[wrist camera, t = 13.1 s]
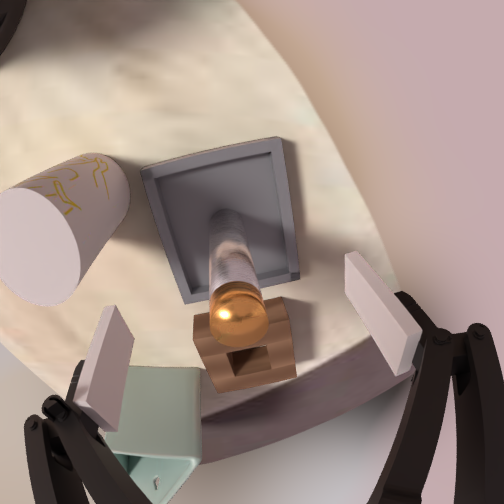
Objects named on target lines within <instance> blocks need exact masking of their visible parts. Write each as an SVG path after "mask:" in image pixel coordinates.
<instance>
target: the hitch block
mask: <svg viewBox="0 0 504 504" xmlns="http://www.w3.org/2000/svg"><path fill="white" fill-rule="evenodd" d="M263 302H264V306H265V309H266V313H267V317H268V321H269V327H268V330H267V332H266V334H265V335H264V336H263V337H262V338H261V339H260V340H259V341H258V342H256V343H254V344H252V345H249V346H245V347H230V346H226V345H223V344H221V343H219V342H218V341H217V340H216V339H215V338H214V337H213V336H212V334H211V331H210V312H209V313H204V314H198V315H194V324H193V341H194V344H195V346H196V348H197V350H198V353H199V355H200V357H201V359H202V361H203V363H204V366H205V368H206V370H207V372H208V374H209V376H210V378H211V380H212V382H213V384H214V386H215V388H216V390H217V392H218V393H223V392H229V391H235V390H240V389H246V388H251V387H256V386H261V385H265V384H270V383H274V382H279V381H283V380H287V379H291V378H295V377H297V374H296V366H295V358H294V350H293V343H292V335H291V328H290V320H289V317H288V314H287V311H286V309H285V306H284V303H283V300H282V297H278V298H273V299H269V300H265V301H263ZM262 345H266V346H263V347H258V348H253V347H257V346H262ZM248 348H253V349H249V350H244V351H239V352H234V353H232V352H233V351H238V350H243V349H248Z"/></svg>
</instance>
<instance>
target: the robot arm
mask: <svg viewBox="0 0 504 504" xmlns="http://www.w3.org/2000/svg"><path fill="white" fill-rule="evenodd" d="M25 4H26V0H0V55H1V53H2V52H3V50H4V49H5V47H6V46H7V44H8V42H9V41H10V39H11V37H12V35H13V33H14V31H15V29H16V27H17V25H18V23H19V21H20V18H21V16H22V13H23V10H24V7H25ZM345 294H346V296H347V297H348V299H349V300H350V302H351V304H352V305H353V307H354V308H355V310H356V312H357V313H358V315H359V316H360V318H361V319H362V321H363V323H364V324H365V326H366V328H367V329H368V331H369V332H370V334H371V336H372V337H373V339H374V341H375V342H376V344H377V346H378V347H379V349H380V351H381V352H382V354H383V356H384V357H385V359H386V361H387V362H388V364H389V366H390V368H391V369H392V371H393V373H394V374H395V376H398V375H400V374H402V373H405V372H407V371H409V370H410V367H411V364H412V363H413V365H414V366H415V368H416V370H415V372H414V375H413V377H412V380H411V381H412V385H411V389H410V393H409V396H408V400H407V403H406V406H405V410H404V414H403V416H402V420H401V423H400V426H399V429H398V432H397V434H396V438H395V440H394V443H393V446H392V449H391V451H390V454H389V456H388V459H387V461H386V463H385V466H384V468H383V471H382V473H381V476H380V478H379V480H378V482H377V484H376V487H375V489H374V491H373V493H372V495H371V497H370V499H369V501H368V503H367V504H421V501H422V499H421V493H422V490H423V487H424V484H425V482H426V479H427V476H428V473H429V470H430V467H431V464H432V460H433V457H434V453H435V450H436V446H437V442H438V439H439V435H440V430H441V426H442V422H443V417H444V413H445V407H446V402H447V396H448V390H449V384H450V377H451V376H452V381H453V389H454V400H455V413H456V433H457V435H456V436H457V463H456V483H455V496H454V504H504V380H503V376H502V371H501V367H500V363H499V360H498V356H497V352H496V348H495V345H494V341H493V338H492V335H491V332H490V330H489V329H488V328H487V327H486V326H485V325H483V324H481V323H474V324H472V325H470V326H469V328H468V330H467V332H464V333H457V334H451V333H450V332H449V331H448V330H446V329H442V328H437V327H436V326H435V324H434V323H433V322H432V321H431V319H430V318H429V317H428V316H427V314H426V313H425V312H424V311H423V310H422V309H421V307H420V306H419V305H418V304H416V301H415V300H414V299H413V298H412V297H411V296H410V295H408V294H407V293H405V292H403V291H400V292H397V293H393V292H392V291H391V290H390V289H389V287H388V286H387V285H386V284H385V283H384V281H383V280H382V279H381V278H380V277H379V275H378V274H377V273H376V272H375V271H374V270H373V268H372V267H371V266H370V265H369V264H368V263H367V262H366V260H365V259H364V258H363V257H362V256H361V255H360V254H359V253H358V251H354V252H350V253H346V254H345ZM134 339H135V338H134V337H133V335H132V333H131V332H130V330H129V328H128V326H127V325H126V323H125V321H124V319H123V318H122V316H121V314H120V312H119V310H118V308H117V307H116V305H112V306H107V307H104V310H103V312H102V315H101V317H100V320H99V323H98V325H97V328H96V331H95V333H94V336H93V339H92V342H91V345H90V347H89V350H88V353H87V356H86V359H85V360H81V361H80V362H79V364H78V365H77V366H76V368H75V371H74V374H73V377H72V380H71V383H70V386H69V390H68V393H67V396H66V400H65V401H64V400H63V399H62V398H61V397H60V396H58V395H51V396H49V397H48V398H47V399H46V400H45V401H44V403H43V405H42V413H43V414H44V415H45V416H46V417H48V418H46V419H42V418H40V417H39V416H38V415H31V416H30V417H28V418H27V420H26V422H25V424H24V435H25V446H26V454H27V462H28V468H29V475H30V480H31V485H32V490H33V495H34V499H35V504H89V501H88V498H87V496H86V492H85V490H84V486H83V484H84V485H85V487H86V489H87V490H88V492H89V494H90V495H91V497H92V498H93V500H94V502H95V503H96V504H153V503H152V502H151V501H150V500H149V499H148V498H147V496H146V495H145V494H144V493H143V492H142V491H141V489H140V488H139V487H138V486H137V484H136V483H135V482H134V481H133V479H132V478H131V477H130V476H129V474H128V473H127V472H126V470H125V469H124V468H123V466H122V465H121V464H120V462H119V461H118V459H117V458H116V457H115V455H114V454H113V452H112V451H111V449H110V448H109V447H108V445H107V444H106V442H105V440H104V439H103V437H102V436H101V435H100V434H99V433H98V427H100V428H102V429H103V430H104V431H105V432H118V427H119V420H120V413H121V407H122V400H123V395H124V389H125V383H126V378H127V373H128V367H129V362H130V358H131V353H132V348H133V343H134ZM82 482H83V483H82Z"/></svg>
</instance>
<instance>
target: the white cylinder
mask: <svg viewBox="0 0 504 504" xmlns="http://www.w3.org/2000/svg"><path fill="white" fill-rule="evenodd" d="M129 204H130V188H129V183H128V180H127V178H126V176H125V174H124V172H123V170H122V169H121V168H120V166H119V165H118V164H117V163H116V162H115V161H113V160H112V159H110V158H109V157H107V156H105V155H102V154H98V153H86V154H82V155H79V156H77V157H74V158H72V159H70V160H67V161H65V162H62V163H60V164H58V165H56V166H53V167H51V168H49V169H47V170H45V171H43V172H40V173H38V174H36V175H34V176H32V177H30V178H28V179H26V180H24V181H22V182H20V183H18V184H16V185H15V186H13V187H11V188H9V189H7V190H5V191H4V192H2V193H0V279H1V280H2V281H3V283H4V284H5V285H6V286H7V287H8V288H9V289H10V290H11V291H12V292H13V293H15V294H16V295H17V296H19V297H20V298H22V299H23V300H25V301H27V302H30V303H32V304H35V305H39V306H55V305H58V304H61V303H63V302H64V301H66V300H67V299H68V298H70V297H71V295H72V294H73V293H74V291H75V290H76V288H77V286H78V285H79V283H80V282H81V280H82V278H83V277H84V275H85V274H86V272H87V271H88V269H89V267H90V266H91V264H92V263H93V261H94V260H95V258H96V257H97V255H98V254H99V253H100V251H101V250H102V248H103V247H104V245H105V244H106V242H107V241H108V240H109V238H110V237H111V235H112V234H113V233H114V231H115V230H116V228H117V227H118V226H119V224H120V223H121V222H122V220H123V219H124V217H125V216H126V214H127V211H128V208H129Z"/></svg>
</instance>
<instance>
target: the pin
mask: <svg viewBox="0 0 504 504" xmlns="http://www.w3.org/2000/svg"><path fill="white" fill-rule="evenodd" d="M209 302H210V331H211V334H212V336H213V337H214V338H215V339H216V340H217V341H218V342H219V343H221V344H223V345H226V346H230V347H245V346H249V345H252V344H254V343H256V342H258V341H259V340H260V339H261V338H262V337H263V336H264V335H265V334H266V332H267V330H268V327H269V321H268V317H267V313H266V309H265V306H264V302H263V298H262V294H261V291H260V287H259V283H258V279H257V275H256V272H255V268H254V264H253V260H252V257H251V253H250V249H249V245H248V242H247V238H246V234H245V230H244V227H243V223H242V219H241V217H240V215H239V214H238V213H237V212H236V211H234V210H231V209H222V210H219V211H217V212H216V213H215V214H214V215H213V216H212V217H211V220H210V242H209Z"/></svg>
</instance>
